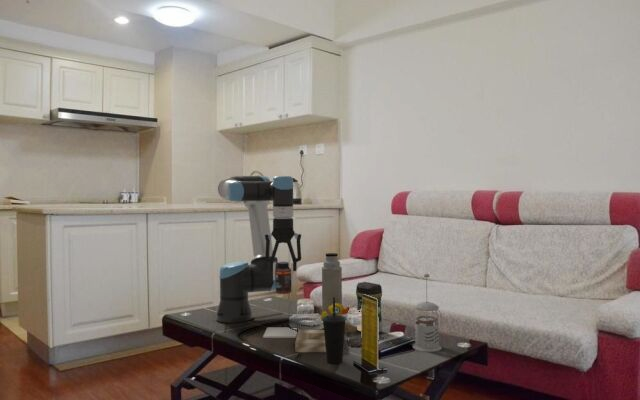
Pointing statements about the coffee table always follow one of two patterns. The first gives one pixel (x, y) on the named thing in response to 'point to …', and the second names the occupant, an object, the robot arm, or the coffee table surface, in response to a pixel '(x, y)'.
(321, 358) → the coffee table surface
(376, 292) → the coffee jar
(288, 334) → the rubber mat
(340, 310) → the duckling
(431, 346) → the french press
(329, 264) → the thermos bottle
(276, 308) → the coffee table surface
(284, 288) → the supplement bottle
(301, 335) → the bore block
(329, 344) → the drinking cup
